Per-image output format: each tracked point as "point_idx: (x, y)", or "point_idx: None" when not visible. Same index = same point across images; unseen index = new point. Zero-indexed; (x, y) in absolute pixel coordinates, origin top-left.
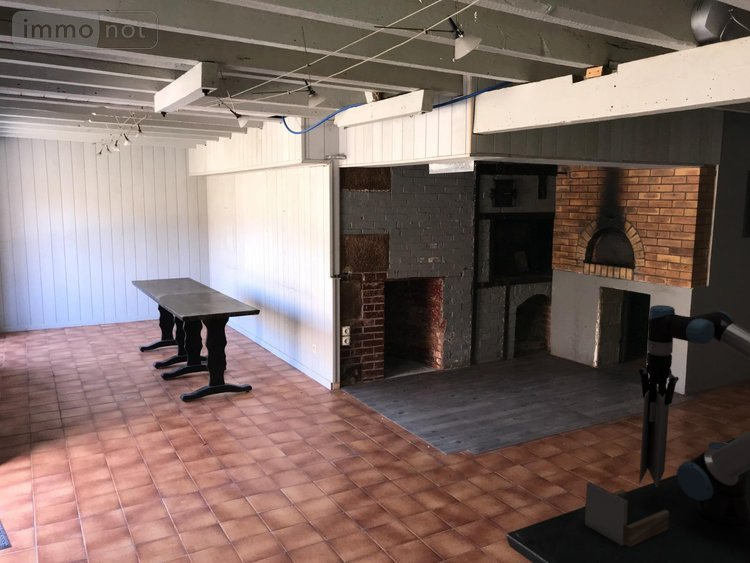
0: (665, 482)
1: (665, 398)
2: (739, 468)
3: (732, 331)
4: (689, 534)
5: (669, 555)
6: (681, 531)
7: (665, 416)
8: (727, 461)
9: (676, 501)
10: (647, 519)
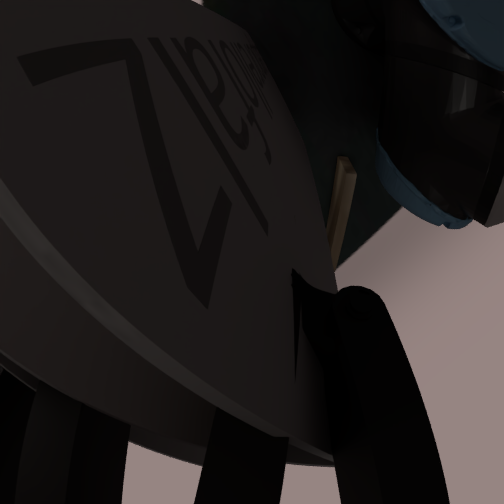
0: None
1: (336, 416)
2: None
3: None
4: None
5: (382, 223)
6: (367, 142)
7: (274, 151)
8: None
9: (289, 31)
10: (341, 231)
